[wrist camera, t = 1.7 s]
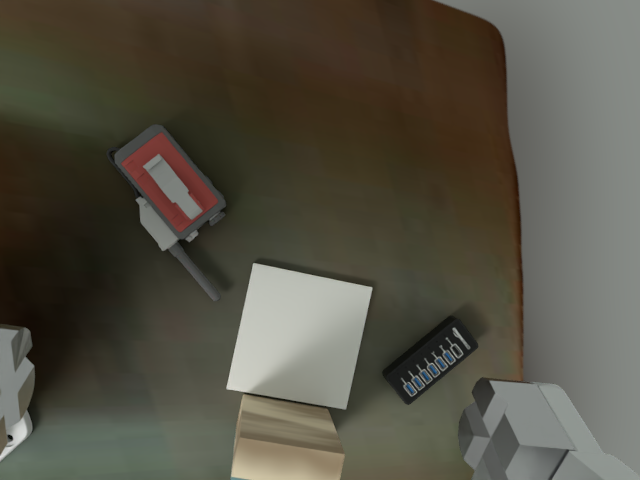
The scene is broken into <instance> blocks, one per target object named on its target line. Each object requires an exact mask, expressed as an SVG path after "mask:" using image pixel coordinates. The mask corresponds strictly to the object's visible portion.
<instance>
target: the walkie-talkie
mask: <svg viewBox="0 0 640 480" xmlns="http://www.w3.org/2000/svg"><path fill="white" fill-rule="evenodd" d="M113 151H117V153H116V154H115V161H114V159H113V158H112V155H111V154H112V152H113ZM107 157H108V159H109V161H110V162H111V163H112V164H113V165H114V167H115V168H116V169H117V170H118V171H119V173H120V174H121V175H122V176H123V177H124V178H125V180H126V181H127V182H128V183H129V185H130V186H131V187H132V188H133V190H134V193H135V196H136V198H137V199H136V201H137V202H138V204H139V205H140V222H141V224H142V225H143V226H144V227H145V228H146V230H147V231H148V232H149V233H150V234H151V236H152V237H153V238H154V239H155V240H156V242H157V243H158V245H159V247H160V248H161V250H162V251H165V250H167V249H168V250H169V251H170V252H171V253H172V255H173V256H174V257H177V259H178V260H179V261H180V262H181V263H182V264H183V266H184V267H185V268H186V269H187V270H188V272H189V273H190V274H191V275H192V276H193V277H194V279H195V280H196V281H197V282H198V283H199V284H200V286H201V287H202V288H203V289H204V290H205V292H206V293H207V294H208V295H209V296H210V297H211V299H212V300H214V301H218V300H219V299H220V293H219V292H218V291H217V290H216V289H215V288H214V286H213V285H212V284H211V283H210V282H209V280H208V279H207V278H206V277H205V276H204V274H203V273H202V272H201V271H200V270H199V269H198V267H197V266H196V265H195V264H194V263H193V261H192V260H191V259H190V258H189V257H188V255H187V254H186V253H185V252H184V249H183V248H182V247H181V245H180V244H179V243H178V242H177V241H178V240H179V239H185V240H187V241H188V242H190V241H192V240H193V239H194V238H195V237H196V236H197V235H198V234H199V233H198V232H197V229H199V228H200V227H201V226H202V225H204V224H205V223H206V222H207V221H209V224H210V226H213V225H214V224H216V223H217V222H218V221H219V220H221V219H222V218H223V217H224V216H225V213H224V212H220V211H221V210H222V209H224V208H225V207H226V201H225V200H224V199H223V198H224V196H223V195H222V194H221V192H220V191H218V190H216V189H215V187H214V186H213V185H212V182H211V180H210V179H209V178H208V177H207V176H206V177H205V176H204V174H203V173H202V172H201V171H200V170H199V168H198V167H197V166H196V165H195V164H194V163H193V162H192V160H191V159H190V158H189V156H188V155H187V154H186V152H185V151H184V150H183V149H182V148H181V147H180V145H179V144H178V143H177V142H176V140H175V139H174V138H173V137H172V136H171V135H170V133H169V132H168V131H167V129H166V128H165V127H164V126H161V125H156V124H153V125H152V126H150V127H149V128H147V129H146V130H145V131H143V132H142V133H141V134H140V135H138V136H137V137H136V138H134V139H133V140H132V141H131V142H129V143H128V144H127V145H125V146H124V147H123V148H121V149H119V148H117V147H112V148H110V149H108V151H107ZM139 192H140V193H141V195H142V196H144V197H145V198H143V197H141V196H140V195H139Z"/></svg>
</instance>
